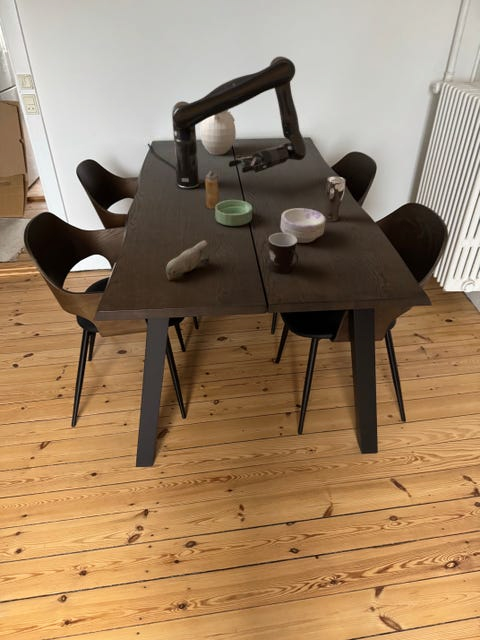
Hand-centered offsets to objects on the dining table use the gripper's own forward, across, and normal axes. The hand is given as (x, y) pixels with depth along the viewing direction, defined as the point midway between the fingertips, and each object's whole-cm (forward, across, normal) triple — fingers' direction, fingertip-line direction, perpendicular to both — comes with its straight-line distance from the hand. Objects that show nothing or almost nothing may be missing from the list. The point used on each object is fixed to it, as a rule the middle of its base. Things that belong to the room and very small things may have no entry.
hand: (235, 167), depth 170 cm
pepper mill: (+12, 0, +13) cm, 18 cm away
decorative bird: (+47, +35, +13) cm, 60 cm away
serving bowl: (+13, +15, +13) cm, 24 cm away
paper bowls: (+3, +41, +14) cm, 43 cm away
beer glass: (-17, +37, +14) cm, 43 cm away
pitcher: (-32, -55, +13) cm, 65 cm away
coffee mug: (+24, +53, +14) cm, 60 cm away
